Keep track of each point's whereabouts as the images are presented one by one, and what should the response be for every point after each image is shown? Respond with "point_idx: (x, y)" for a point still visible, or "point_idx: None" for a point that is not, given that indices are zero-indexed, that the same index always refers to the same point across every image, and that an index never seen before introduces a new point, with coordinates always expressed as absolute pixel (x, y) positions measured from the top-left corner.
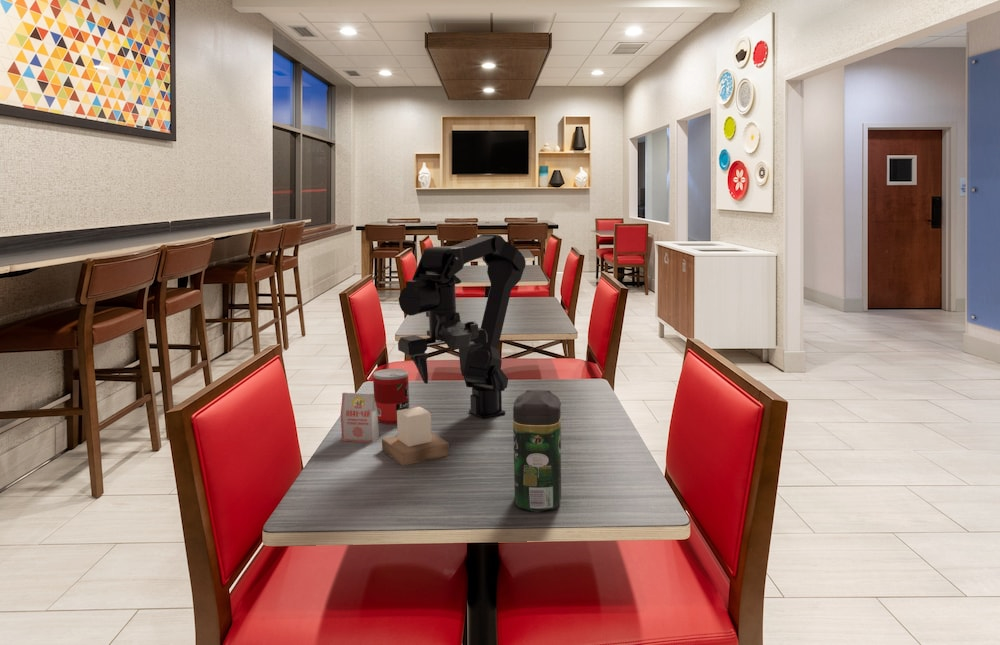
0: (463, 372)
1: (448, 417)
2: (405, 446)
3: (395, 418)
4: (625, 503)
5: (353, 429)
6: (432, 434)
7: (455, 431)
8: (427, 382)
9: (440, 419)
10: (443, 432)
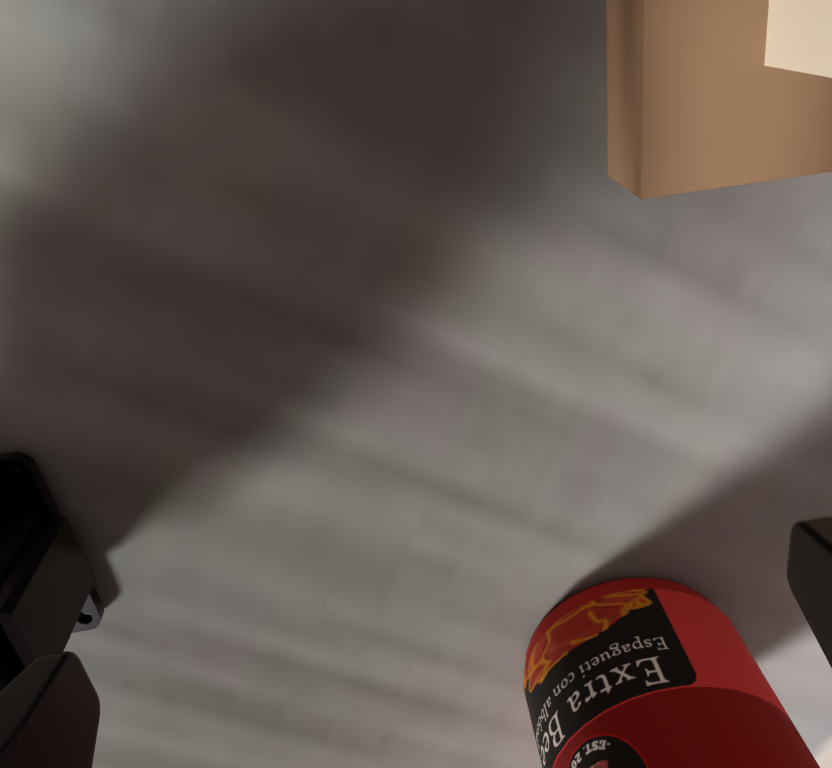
0: (58, 716)
1: (278, 567)
2: None
3: (664, 598)
4: None
5: None
6: (667, 9)
7: (322, 275)
8: (811, 523)
9: (344, 551)
10: (419, 293)
